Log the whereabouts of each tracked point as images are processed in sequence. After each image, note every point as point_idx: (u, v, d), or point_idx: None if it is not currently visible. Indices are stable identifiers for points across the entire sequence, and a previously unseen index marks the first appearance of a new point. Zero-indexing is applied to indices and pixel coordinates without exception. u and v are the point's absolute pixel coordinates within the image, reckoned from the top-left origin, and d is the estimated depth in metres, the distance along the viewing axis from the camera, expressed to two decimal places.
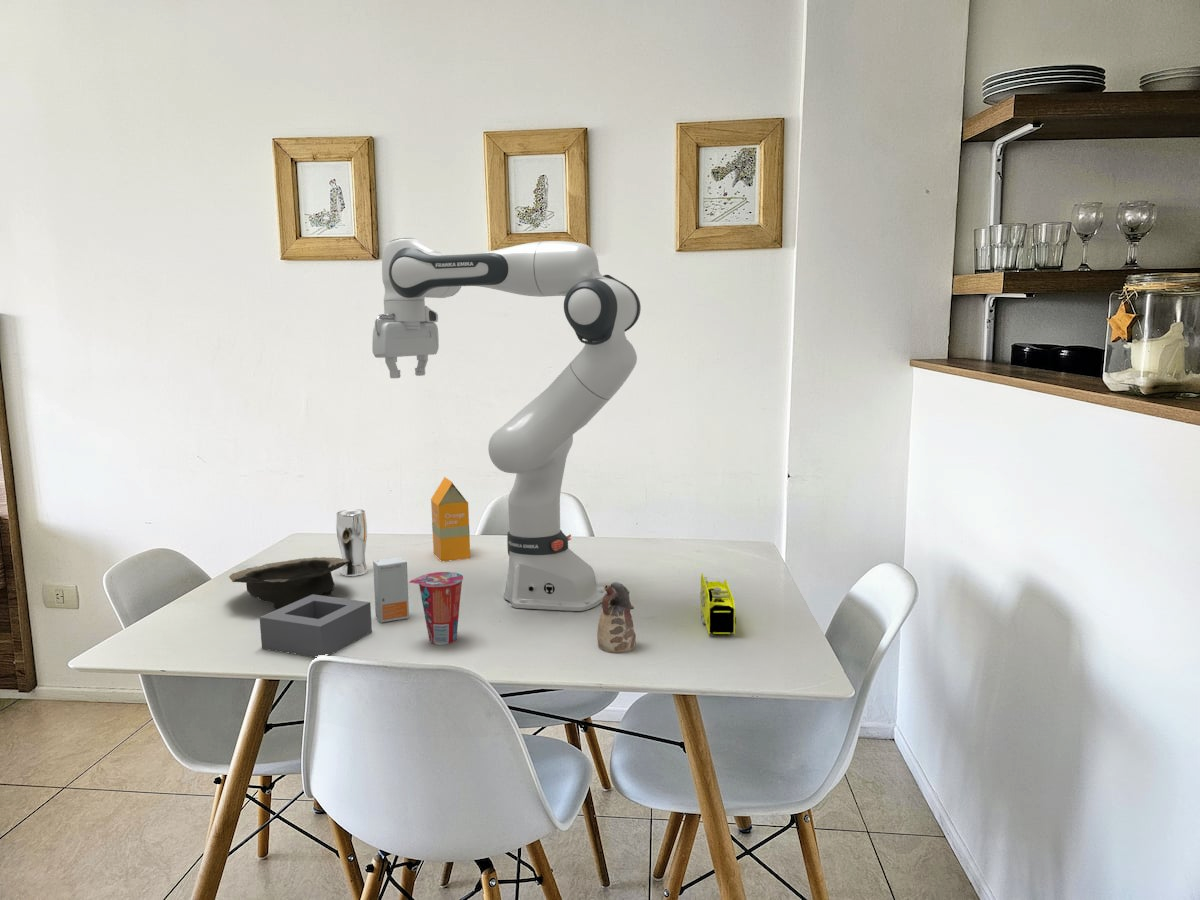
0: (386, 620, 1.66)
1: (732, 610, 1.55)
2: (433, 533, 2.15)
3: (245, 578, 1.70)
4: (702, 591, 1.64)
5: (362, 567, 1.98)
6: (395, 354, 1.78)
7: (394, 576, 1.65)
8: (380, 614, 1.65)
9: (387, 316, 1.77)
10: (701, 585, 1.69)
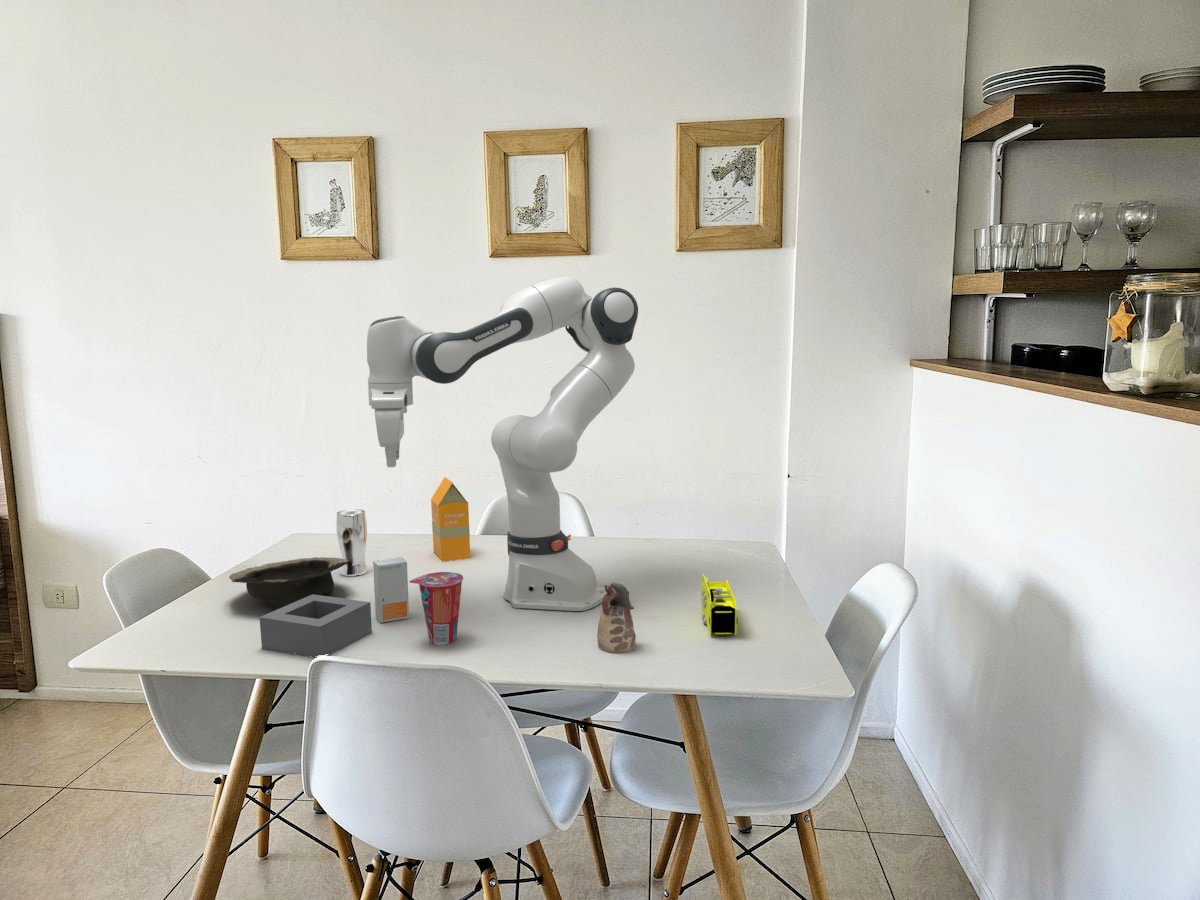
0: (386, 620, 1.66)
1: (733, 610, 1.55)
2: (433, 533, 2.15)
3: (245, 578, 1.70)
4: (703, 591, 1.63)
5: (362, 567, 1.98)
6: None
7: (395, 576, 1.65)
8: (380, 614, 1.65)
9: None
10: (702, 585, 1.69)
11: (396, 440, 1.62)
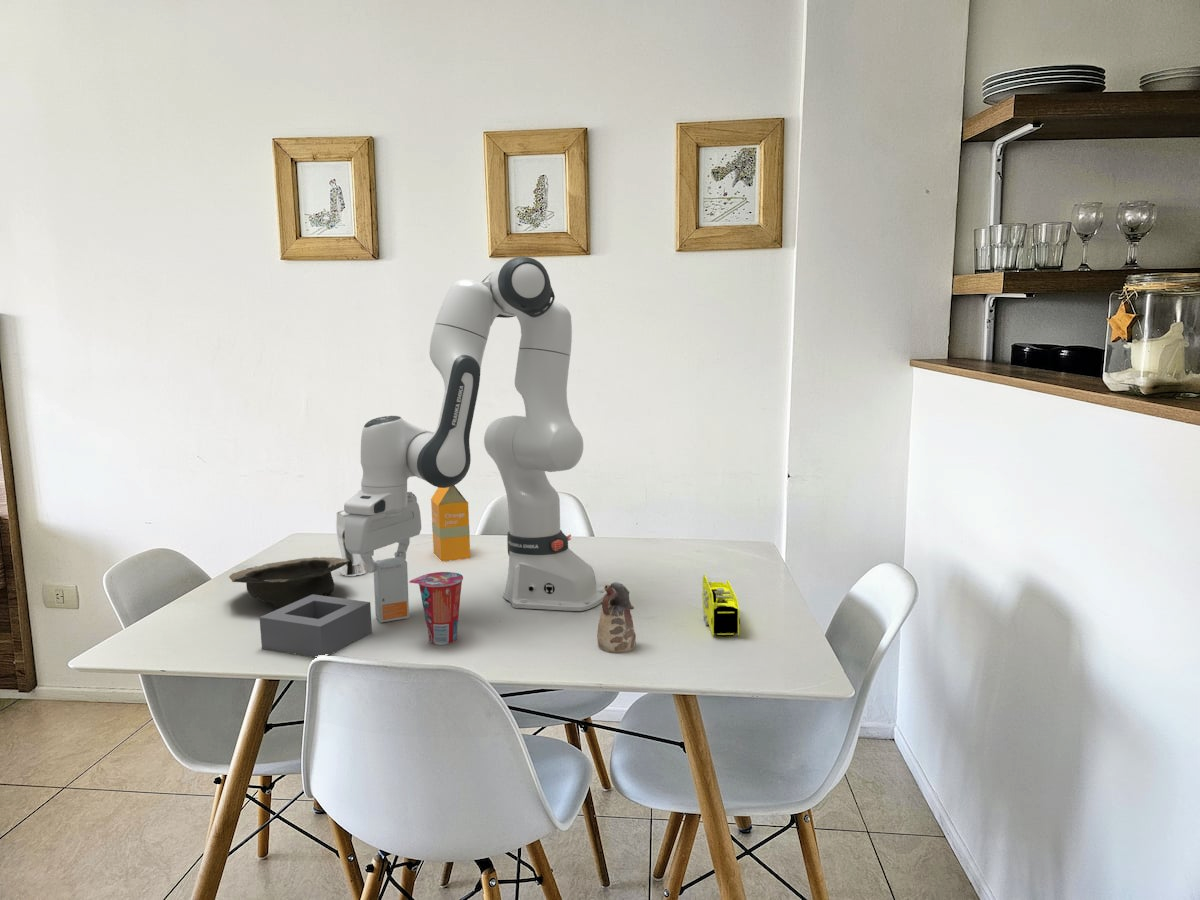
0: (386, 620, 1.66)
1: (736, 611, 1.54)
2: (433, 533, 2.15)
3: (245, 578, 1.70)
4: (705, 592, 1.63)
5: (362, 567, 1.98)
6: None
7: (395, 576, 1.65)
8: (380, 614, 1.65)
9: None
10: (703, 586, 1.68)
11: (359, 548, 1.56)
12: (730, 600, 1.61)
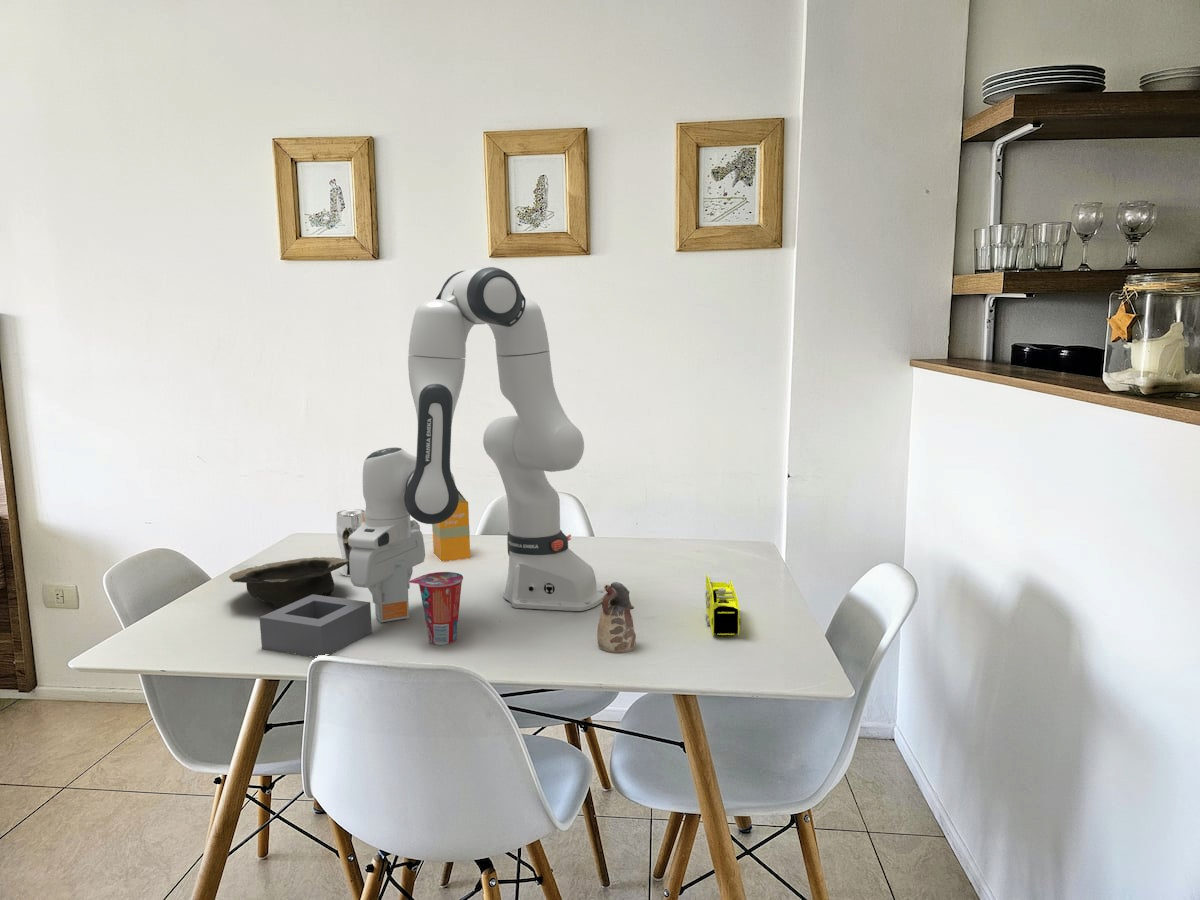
0: (386, 620, 1.66)
1: (736, 611, 1.54)
2: (433, 533, 2.15)
3: (245, 578, 1.70)
4: (707, 592, 1.63)
5: None
6: None
7: (395, 576, 1.65)
8: (380, 614, 1.65)
9: None
10: (706, 586, 1.68)
11: (364, 582, 1.57)
12: (732, 600, 1.60)
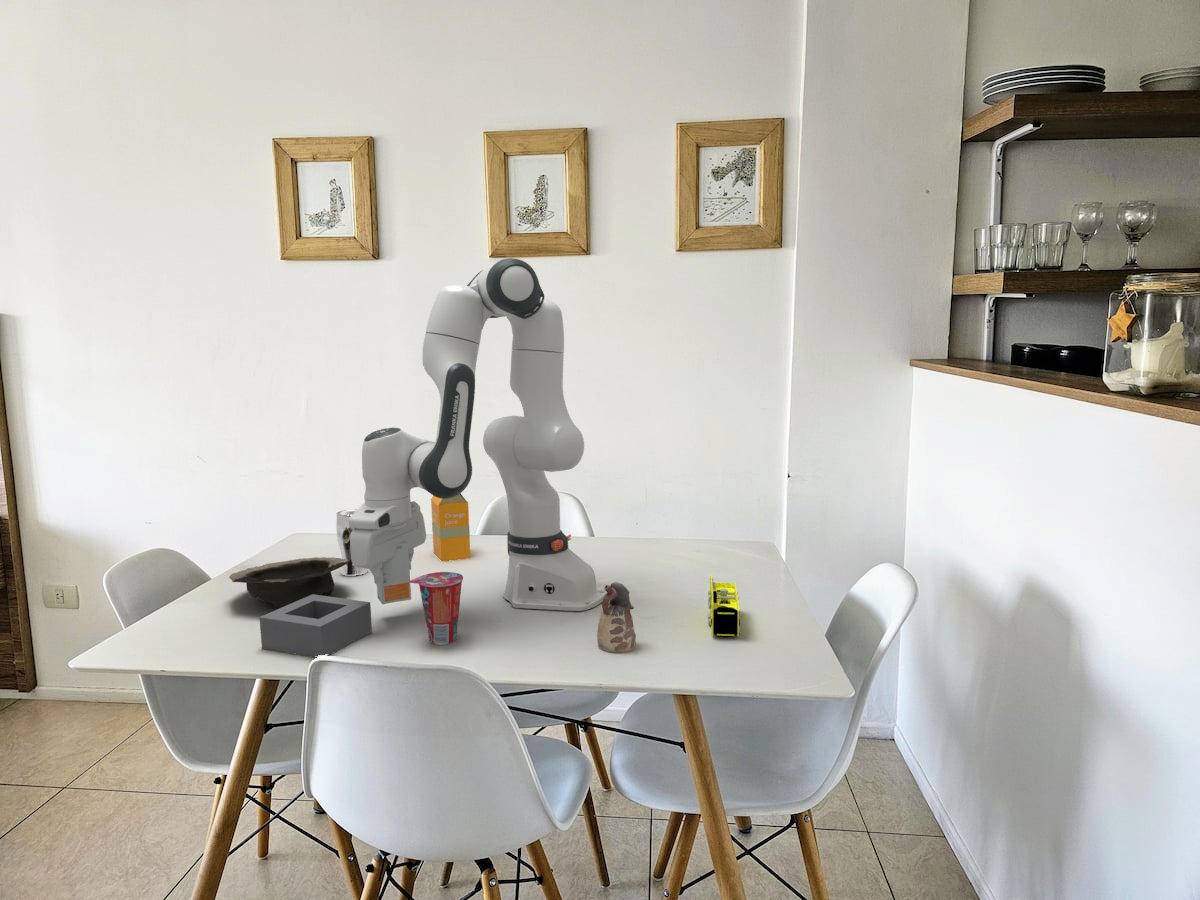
0: (388, 602, 1.66)
1: (736, 612, 1.54)
2: (433, 533, 2.15)
3: (245, 578, 1.70)
4: (709, 592, 1.63)
5: None
6: None
7: (396, 557, 1.65)
8: (382, 596, 1.65)
9: None
10: None
11: (366, 563, 1.57)
12: (733, 601, 1.60)
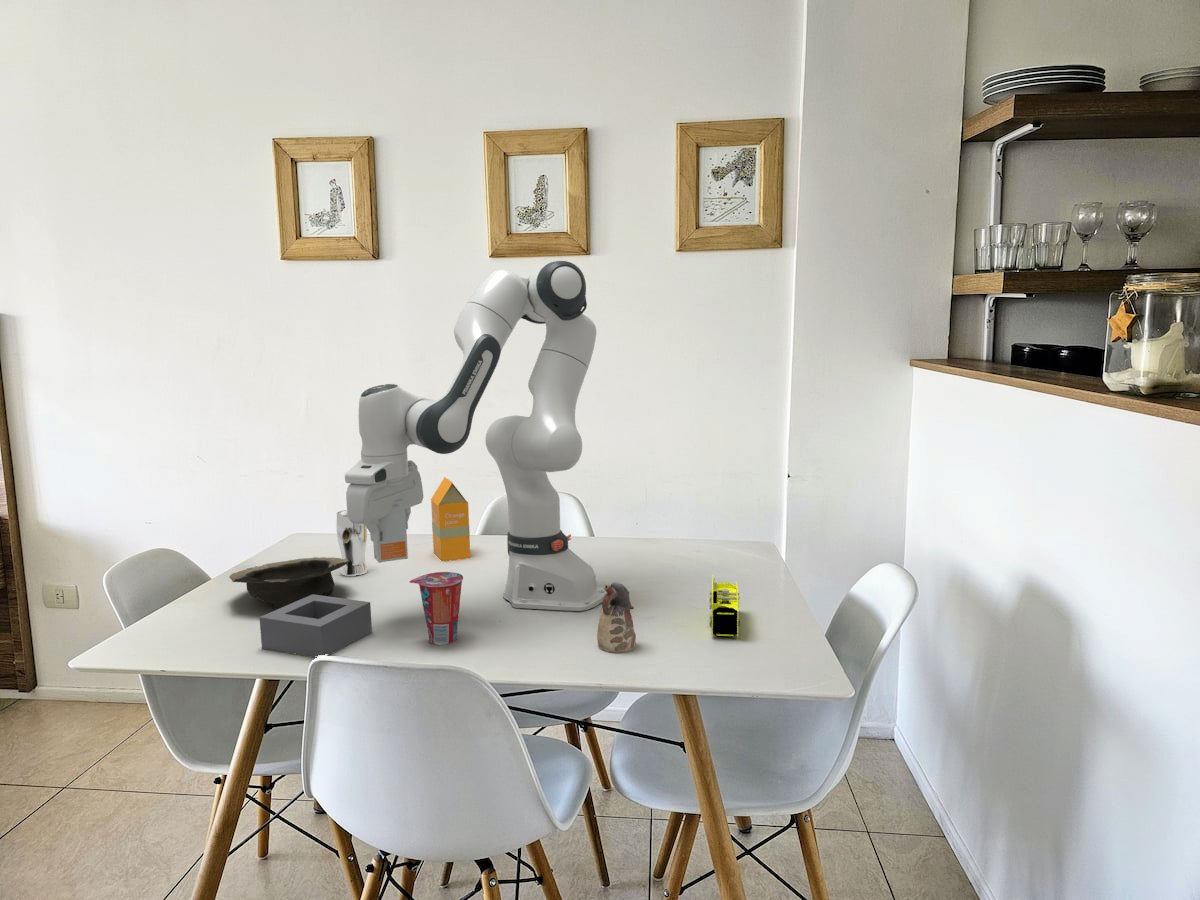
0: (385, 560, 1.64)
1: (736, 612, 1.53)
2: (433, 533, 2.15)
3: (245, 578, 1.70)
4: (710, 592, 1.63)
5: (362, 567, 1.98)
6: None
7: (392, 515, 1.64)
8: (378, 554, 1.64)
9: None
10: None
11: (362, 518, 1.55)
12: (734, 601, 1.60)
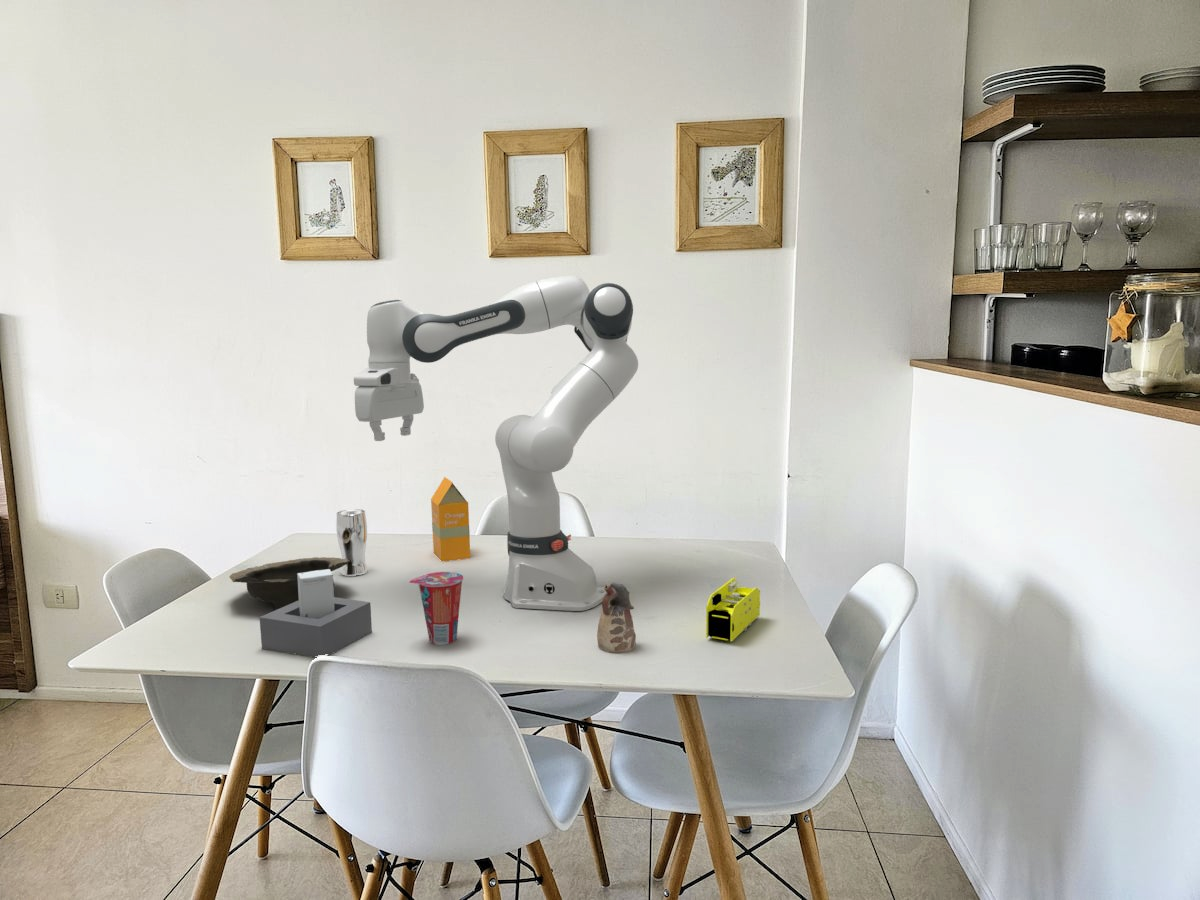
0: None
1: (730, 617, 1.51)
2: (433, 533, 2.15)
3: (245, 578, 1.70)
4: None
5: (362, 567, 1.98)
6: None
7: (319, 590, 1.54)
8: None
9: None
10: (733, 590, 1.66)
11: (368, 415, 1.73)
12: None
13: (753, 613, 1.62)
